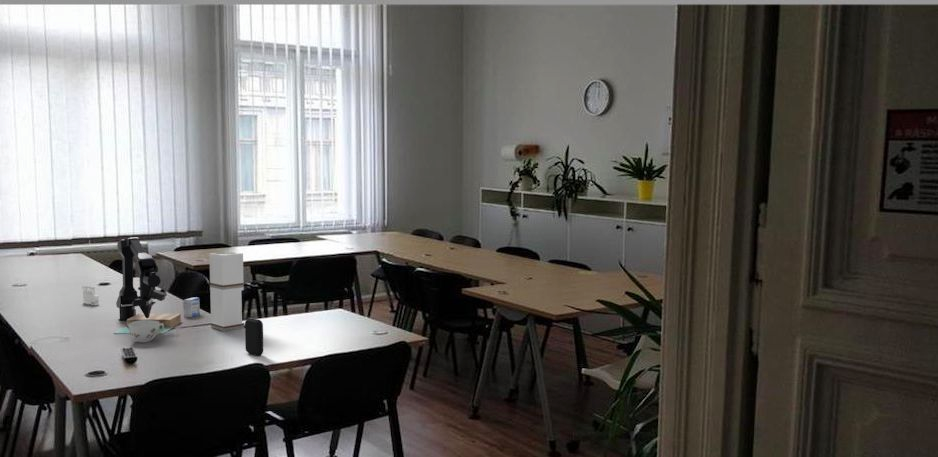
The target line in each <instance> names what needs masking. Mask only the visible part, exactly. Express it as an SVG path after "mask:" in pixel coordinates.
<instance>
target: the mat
mask: <svg viewBox="0 0 938 457" xmlns="http://www.w3.org/2000/svg"><path fill="white" fill-rule="evenodd" d="M172 329H173V327H172V328H164V329H163V331H162V332H161V333H159V334H158V335H164V334H165V333H167V332H169V331H170V330H172ZM161 330H162V328H159V330H158V332H159V331H161ZM168 330H169V331H168ZM163 333H164V334H163ZM113 334H114V335H116V334H117V335H131V333H130V330H129V327H127V326H125V327H123V328H121V329H120V330H117V331H115V332H113Z"/></svg>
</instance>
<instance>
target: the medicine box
mask: <svg viewBox="0 0 938 457" xmlns="http://www.w3.org/2000/svg"><path fill="white" fill-rule="evenodd" d="M182 303H183V304H182V305H183V307H182V309H183V317H184V318H194V317H196V316H198V315H200V312H201V311H200V310H201V308H200V307H201V306H200V297H197V296H196V297H190V298H185V299H183V301H182Z"/></svg>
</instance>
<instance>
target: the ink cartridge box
mask: <svg viewBox="0 0 938 457" xmlns="http://www.w3.org/2000/svg"><path fill="white" fill-rule="evenodd" d="M95 292H96V291H95V287H92V286H86V285H82V304H83V303H86V304H85V305H89V304H91V305H90V306H99V305H100V304H99V302H100V299H99V295H98V294H97V295H96V294H95Z"/></svg>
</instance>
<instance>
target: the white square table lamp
mask: <svg viewBox="0 0 938 457" xmlns="http://www.w3.org/2000/svg"><path fill="white" fill-rule="evenodd" d="M244 284H245V283H244V253H242V252H237V251H228V254H219V253H213V252H210V253H209V290H210V292H209V293H210V298H209V300H210V327H212V328H213V329H215V328H216V330H218V329H219V331H223V332H225V331H226V330H227V331H232V329H233V330H239V329H244V325H245V322H243V312H242V311H243V308H242V307H243V303H242V301H243V299H242V296H243V295H242V291H244V290H245V288H244V286H245V285H244ZM238 328H239V329H238ZM227 331H226V332H227Z"/></svg>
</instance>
